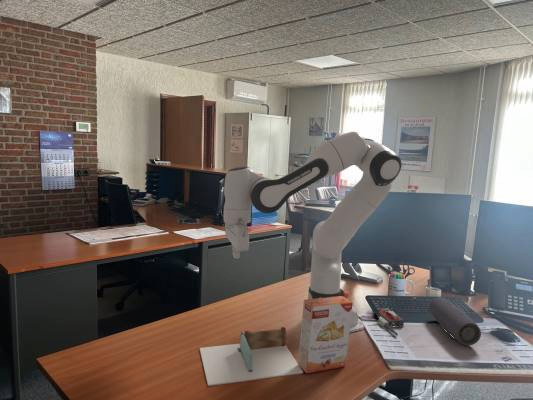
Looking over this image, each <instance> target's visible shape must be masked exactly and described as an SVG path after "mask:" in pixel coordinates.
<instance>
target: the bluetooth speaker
mask: <svg viewBox="0 0 533 400" xmlns="http://www.w3.org/2000/svg"><path fill="white" fill-rule="evenodd" d="M428 306H429V307H428V309H429V312H430V314H431V316H432V317H433V318H434V319H435V320H436V321H437V323H438V324H439V325H440V326H441V327H442V328H444V329H445V330H446V331H447V332H448V333H449V334H451V335H452V336H453V337H454V338H455V339H456V341H457V342H459V343H461V344H462V345H464V346H472V345H475V344H477V343H478V342H479V341H480V339H481V337H482V331H481V328H480V327H479V325H478V324H477V323H476V322H475V321H474V320H473V319H472V318H471V317H470V316H469V315H468V314H466V313H465V312H464V311H463V310H462V309H460V308H459V307H458V306H457V305H455V304H454V303H453V302H452V301H450V300H449V299H447V298H444V297H441V296H438V297H435V298H433V299H432V300H431V302H430V303H429V305H428ZM444 329H443V330H444ZM445 330H444V331H445ZM446 331H445V332H446ZM447 332H446V333H447ZM448 333H447V334H448ZM449 334H448V335H449ZM454 338H453V339H454ZM455 339H454V340H455Z"/></svg>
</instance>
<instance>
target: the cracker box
mask: <svg viewBox="0 0 533 400" xmlns="http://www.w3.org/2000/svg"><path fill="white" fill-rule="evenodd" d="M352 306H353V302H352V301H351V300H349V299H348V298H345V297H344V296H337V297H327V298H316V299H308V298H307V299H304V300H303V306H302V316H301V318H302V319H301V327H300V338H299V350H298V360H297V363H298V365H299V366H300V368H301V369H302V371H303V372H304V373H306V375H307V374H311V373H315V372H316V373H317V372H321V371H327V370H332V369H338V368H343V367H346V363H347V354H348V345H349V338H350V336H349V335H350V333H349V330H350V322H351V313H352Z"/></svg>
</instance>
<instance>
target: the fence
mask: <svg viewBox="0 0 533 400" xmlns="http://www.w3.org/2000/svg"><path fill="white" fill-rule="evenodd" d="M286 328H287V327H285V326H283V327H280V328H279V329H271V330H259V331H251V332H250V331H249V330H245V331H244V336H245V338H246V340H247V343H248V345H249V347H250V350H252V349H261V348H270V347H279V346H285V345H286V337H287V336H286V334H287V333H286V331H287V329H286Z"/></svg>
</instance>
